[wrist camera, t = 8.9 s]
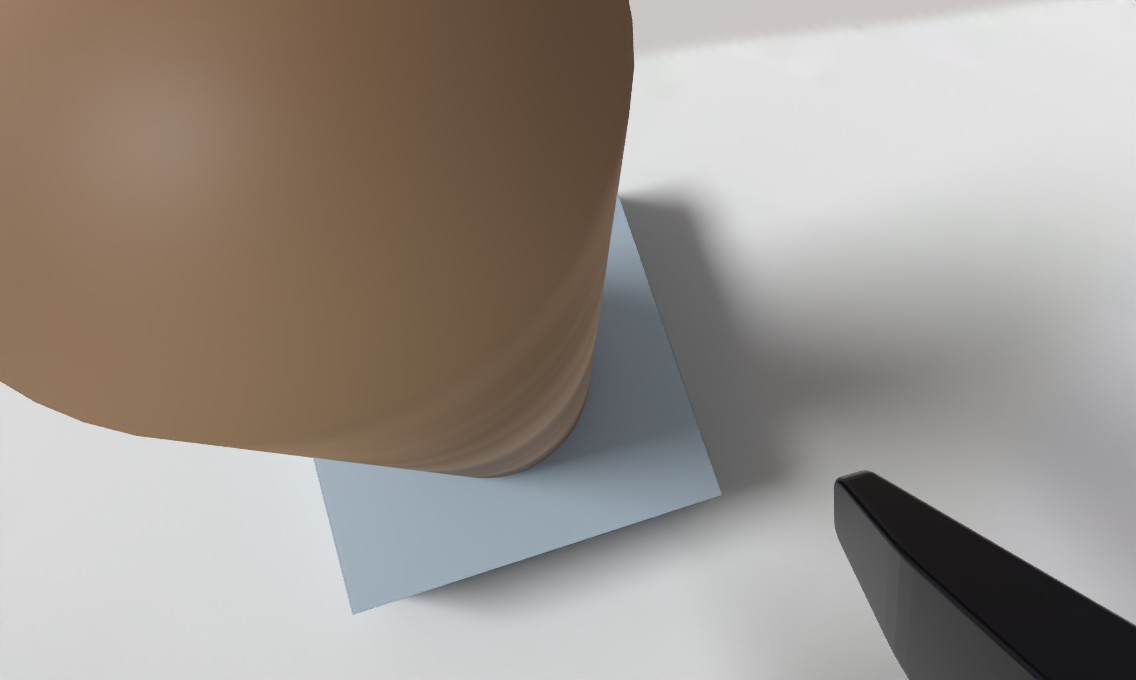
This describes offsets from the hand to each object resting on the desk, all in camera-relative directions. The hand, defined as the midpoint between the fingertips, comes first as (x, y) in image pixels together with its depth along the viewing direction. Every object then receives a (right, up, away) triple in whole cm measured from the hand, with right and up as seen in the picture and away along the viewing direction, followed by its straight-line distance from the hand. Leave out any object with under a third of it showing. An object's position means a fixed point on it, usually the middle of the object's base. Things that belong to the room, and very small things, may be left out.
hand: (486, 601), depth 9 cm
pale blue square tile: (-1, +2, +12) cm, 13 cm away
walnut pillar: (-1, +2, +9) cm, 10 cm away
